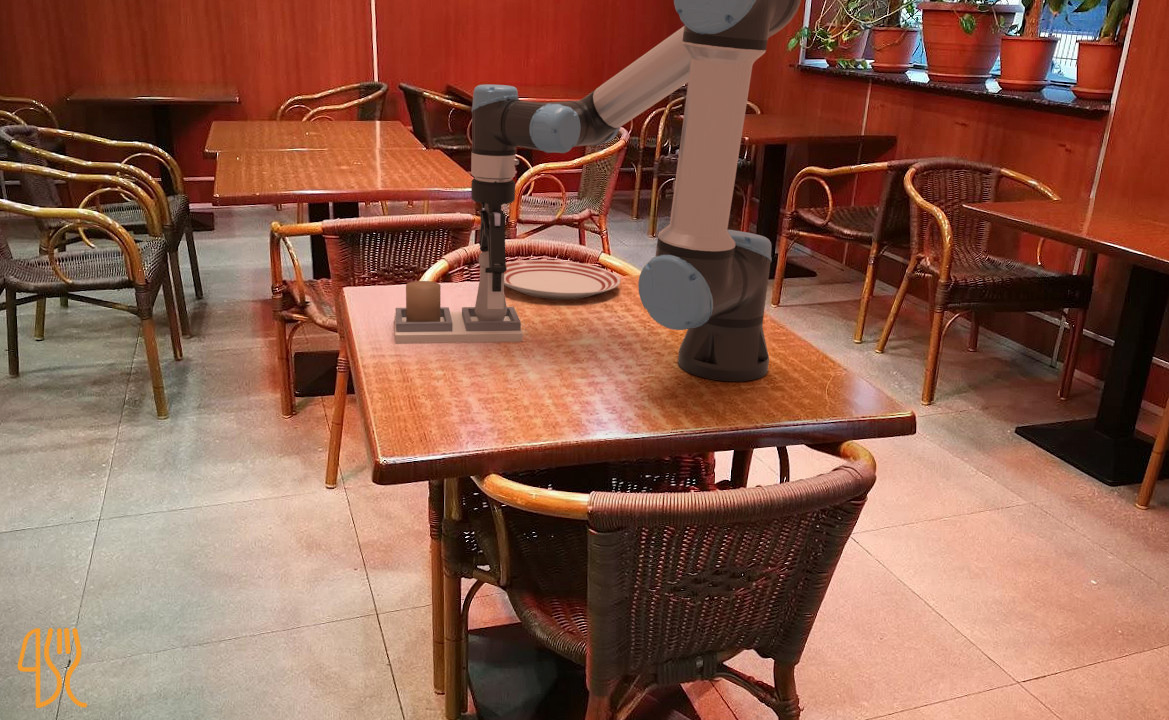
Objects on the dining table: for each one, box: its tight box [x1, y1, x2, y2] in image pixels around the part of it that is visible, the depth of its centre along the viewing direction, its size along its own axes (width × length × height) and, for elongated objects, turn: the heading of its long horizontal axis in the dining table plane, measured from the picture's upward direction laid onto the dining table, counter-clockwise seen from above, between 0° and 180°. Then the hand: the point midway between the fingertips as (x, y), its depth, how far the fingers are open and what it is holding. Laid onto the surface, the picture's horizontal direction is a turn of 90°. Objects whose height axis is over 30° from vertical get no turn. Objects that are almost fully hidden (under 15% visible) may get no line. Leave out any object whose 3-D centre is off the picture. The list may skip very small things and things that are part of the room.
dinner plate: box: [504, 259, 621, 300], centre depth 201 cm, size 28×27×3 cm
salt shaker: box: [474, 251, 508, 321], centre depth 169 cm, size 6×6×13 cm
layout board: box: [393, 280, 524, 345], centre depth 169 cm, size 13×22×8 cm, turn 101°
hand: (491, 297), depth 170 cm, fingers open, 13 cm apart
